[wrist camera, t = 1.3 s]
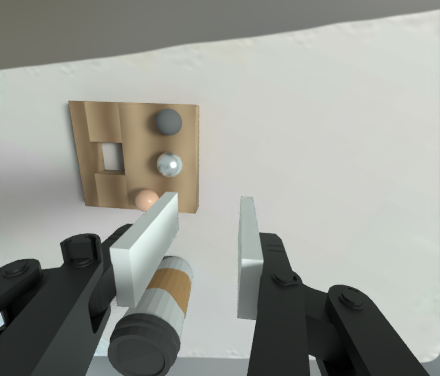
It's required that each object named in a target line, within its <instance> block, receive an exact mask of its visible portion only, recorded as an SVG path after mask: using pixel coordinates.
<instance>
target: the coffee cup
mask: <svg viewBox="0 0 440 376" xmlns="http://www.w3.org/2000/svg"><path fill="white" fill-rule="evenodd" d="M192 278H193V272H192V269H191V267H190V265H189V264H188V262H187V261H185V260H184V259H182V258H179V257H169V258H167V259H164V260H163V261H161V262H160V264H159V266H158V268H157V270H156V272H155V273H154V275H153V277H152V279H151V281H150V282H149V284H148V286H147V288H146V290H145V291H144V293H143V295H142V297H141V299H140V301H139V302H138V304H137V306H136V308H132V307H129V309H128V310H127V312H126V313H125V315H124V316H123V318H121V319H120V320H119V321H118V323H117V324H116V326H115V329H114V331H113V332H112V335H111V337H110V345H109V348H108V358H109V361H110V363H111V364H112V366H113V367H114V368H115V369H116V370H117V371H118V372H119V373H121V374H122V375H124V376H165V375H166V374H167V373H168V371H169V369H170V367H171V366H172V365H173V364H174V362H175V360H176V358H177V354H178V352H179V350H180V344H181V343H180V337H181V332H182V327H183V322H184V319H185V316H186V311H187V306H188V301H189V296H190V290H191V283H192Z"/></svg>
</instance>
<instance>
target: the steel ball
mask: <svg viewBox="0 0 440 376" xmlns="http://www.w3.org/2000/svg"><path fill="white" fill-rule="evenodd" d="M157 168H158V171H159V172H160V173H161V174H162V175H163V176H165V177H169V178H172V177H176V176H178V175H179V174H180V173H181V172H182V170H183V160H182V158H181V157H180V155H179V154H177V153H175V152H171V151H168V152H165V153H163V154H161V155H160V156H159V158H158V160H157Z"/></svg>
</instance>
